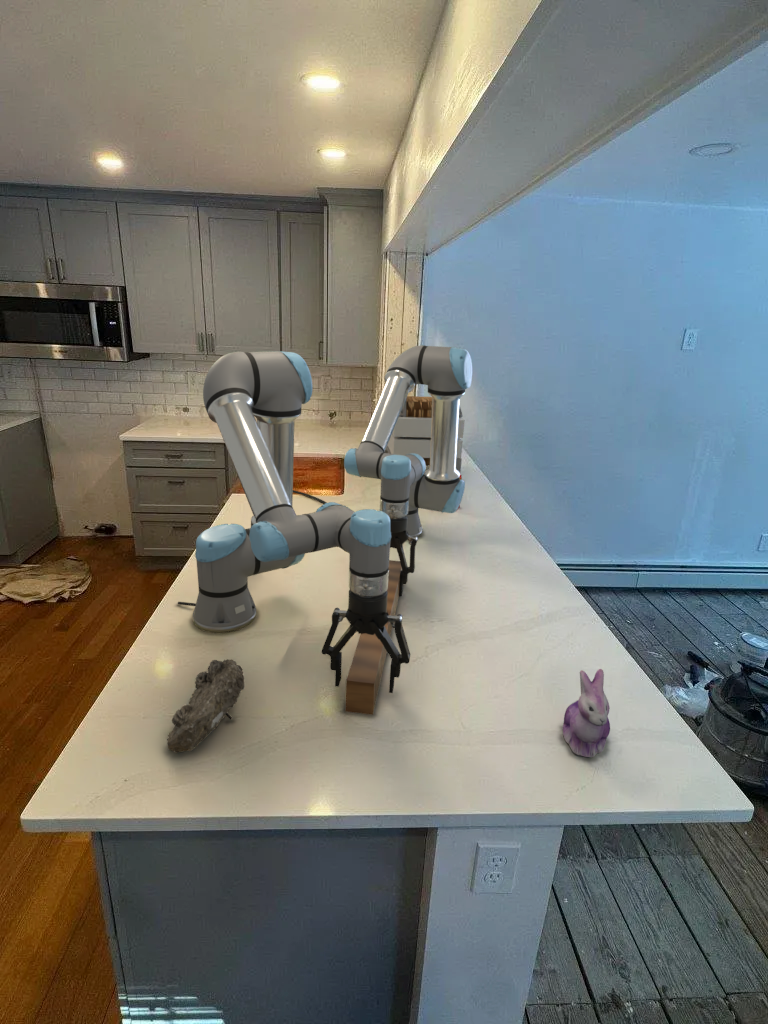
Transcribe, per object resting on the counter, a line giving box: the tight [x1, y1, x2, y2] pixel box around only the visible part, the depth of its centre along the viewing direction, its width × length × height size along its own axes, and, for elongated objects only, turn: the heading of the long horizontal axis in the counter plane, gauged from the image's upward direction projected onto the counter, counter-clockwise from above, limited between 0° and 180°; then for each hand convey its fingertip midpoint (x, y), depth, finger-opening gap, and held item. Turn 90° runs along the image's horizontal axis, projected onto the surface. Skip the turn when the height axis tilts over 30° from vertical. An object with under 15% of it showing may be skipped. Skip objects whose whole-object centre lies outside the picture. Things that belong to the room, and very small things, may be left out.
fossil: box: [166, 658, 245, 754], centre depth 106 cm, size 22×10×15 cm
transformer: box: [385, 395, 465, 475], centre depth 268 cm, size 34×33×41 cm
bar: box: [344, 559, 402, 716], centre depth 136 cm, size 56×6×7 cm, turn 173°
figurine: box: [562, 668, 611, 758], centre depth 104 cm, size 9×10×15 cm
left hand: (364, 685), depth 116 cm, fingers open, 10 cm apart
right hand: (389, 592), depth 157 cm, fingers closed on bar, 5 cm apart
